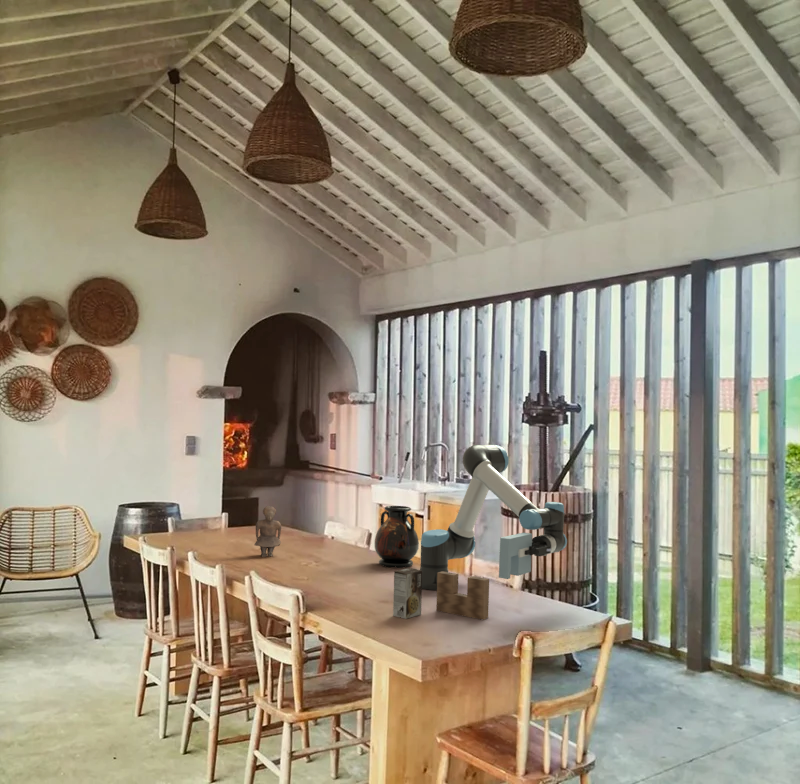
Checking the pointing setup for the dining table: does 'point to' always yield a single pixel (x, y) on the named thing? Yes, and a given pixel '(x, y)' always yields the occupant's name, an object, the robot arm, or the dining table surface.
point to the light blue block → (514, 555)
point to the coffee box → (407, 593)
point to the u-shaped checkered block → (462, 596)
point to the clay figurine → (268, 532)
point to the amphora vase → (396, 538)
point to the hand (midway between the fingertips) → (514, 552)
